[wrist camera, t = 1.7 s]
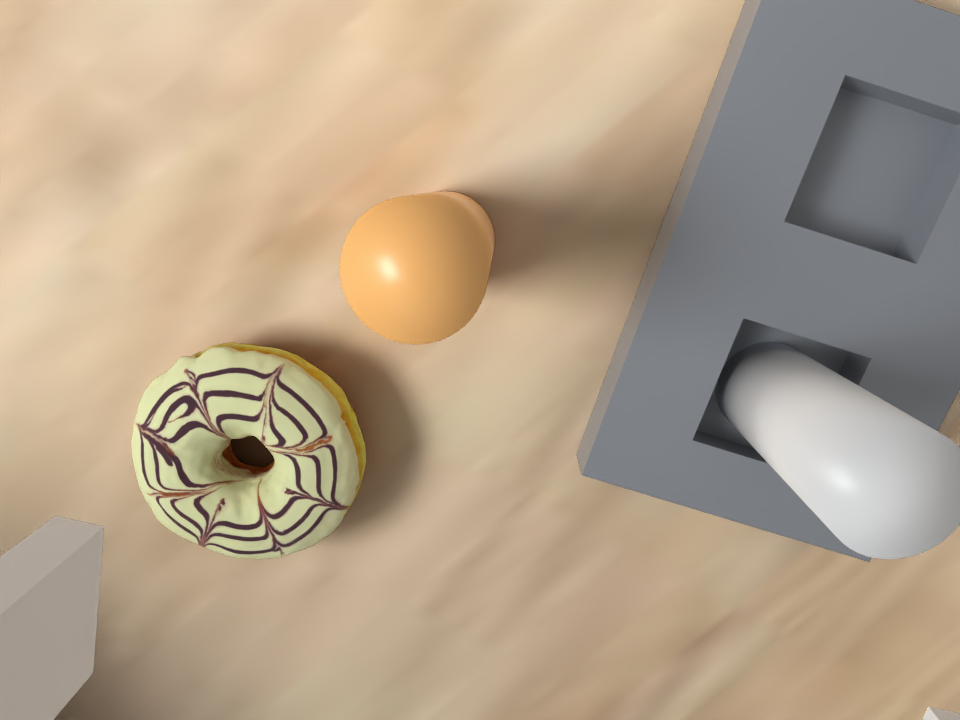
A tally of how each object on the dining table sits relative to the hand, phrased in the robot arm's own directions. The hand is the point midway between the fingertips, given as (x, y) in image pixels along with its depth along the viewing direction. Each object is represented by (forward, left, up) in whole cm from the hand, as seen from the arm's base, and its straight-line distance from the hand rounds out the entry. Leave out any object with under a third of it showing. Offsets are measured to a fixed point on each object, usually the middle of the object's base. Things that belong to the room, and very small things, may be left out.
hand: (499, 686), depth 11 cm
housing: (+12, +7, -22) cm, 26 cm away
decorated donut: (-10, -8, -22) cm, 26 cm away
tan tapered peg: (-4, +4, -22) cm, 23 cm away
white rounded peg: (+12, +2, -21) cm, 24 cm away
